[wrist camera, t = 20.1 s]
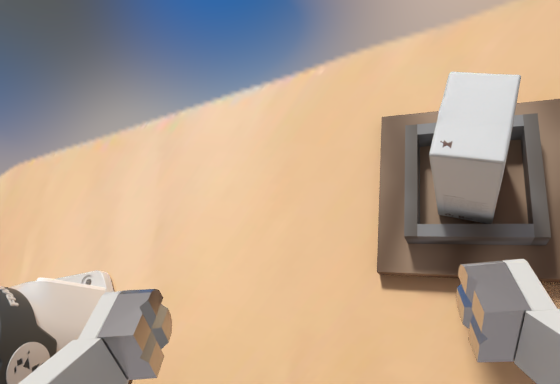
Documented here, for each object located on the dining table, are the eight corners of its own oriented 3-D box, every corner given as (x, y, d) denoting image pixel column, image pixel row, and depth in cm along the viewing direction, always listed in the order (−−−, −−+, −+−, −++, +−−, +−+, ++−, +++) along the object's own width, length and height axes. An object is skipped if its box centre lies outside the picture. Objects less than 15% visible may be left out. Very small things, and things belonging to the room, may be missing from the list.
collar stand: (379, 274, 37) (371, 266, 34) (384, 123, 42) (377, 104, 39) (586, 283, 31) (599, 274, 28) (562, 105, 36) (571, 81, 33)
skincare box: (493, 226, 33) (505, 165, 23) (437, 215, 35) (425, 156, 25) (506, 157, 35) (523, 72, 25) (452, 151, 37) (446, 69, 27)
